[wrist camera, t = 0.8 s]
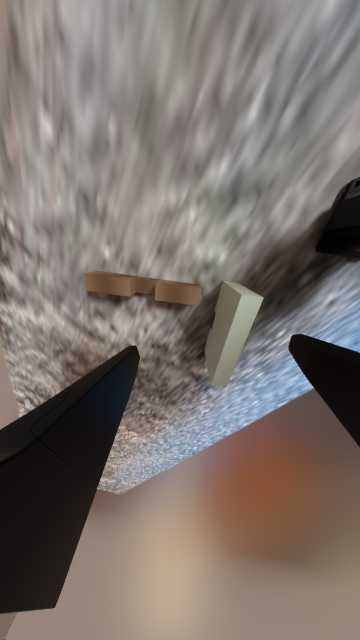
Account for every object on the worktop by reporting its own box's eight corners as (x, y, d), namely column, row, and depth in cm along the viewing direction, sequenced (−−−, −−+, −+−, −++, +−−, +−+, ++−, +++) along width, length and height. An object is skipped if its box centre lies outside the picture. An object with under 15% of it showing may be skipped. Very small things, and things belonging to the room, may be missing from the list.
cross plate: (222, 280, 18) (241, 294, 12) (237, 282, 18) (263, 297, 12) (204, 350, 24) (210, 385, 17) (215, 351, 24) (226, 387, 17)
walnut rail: (199, 284, 19) (201, 290, 16) (196, 298, 19) (198, 305, 17) (98, 270, 18) (83, 273, 16) (100, 285, 19) (86, 290, 16)
